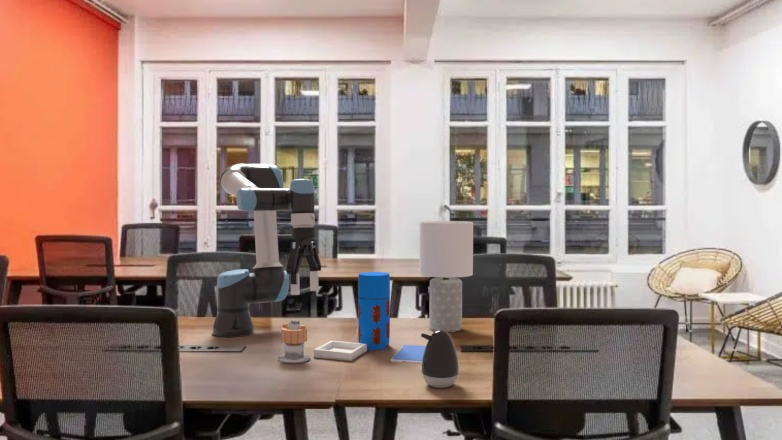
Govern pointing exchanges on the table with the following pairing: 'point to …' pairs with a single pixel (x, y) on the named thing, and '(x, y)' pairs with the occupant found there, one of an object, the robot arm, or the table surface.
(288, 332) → the ring
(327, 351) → the tray
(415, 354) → the tablet computer
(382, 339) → the thermos
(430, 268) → the lamp
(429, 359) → the pump dispenser
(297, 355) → the grey stepped cylinder
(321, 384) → the table surface
